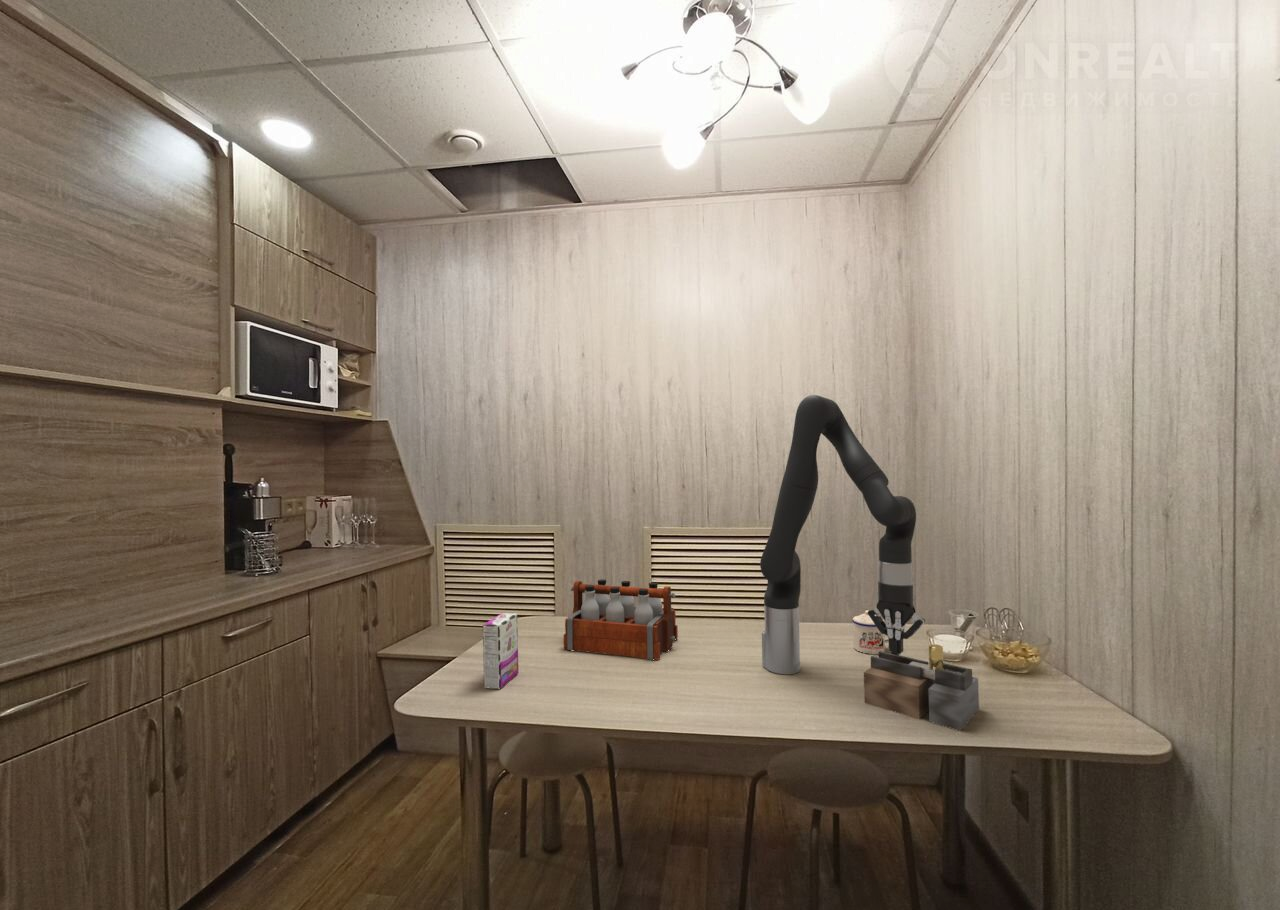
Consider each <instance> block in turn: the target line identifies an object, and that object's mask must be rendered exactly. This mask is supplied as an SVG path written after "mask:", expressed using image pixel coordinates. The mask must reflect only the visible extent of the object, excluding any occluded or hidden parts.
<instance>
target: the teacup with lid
mask: <svg viewBox="0 0 1280 910" xmlns="http://www.w3.org/2000/svg"><path fill="white" fill-rule="evenodd" d="M868 611H870V610H867V609H866V610H865V611H864V613H861V614H860V615H855V616H853V618H852V620H851V621H852V623H853V627H852V628H853V630H852V631H853V649H854V648H855V649H856V650H857V651H856V650H855V649H854V650H855V651H856V652H858V651H860V652H859V653H861V652H863V653H862V654H865V653H869V654H868V655H879V652H880V651H882V652H886V644H889V638H888V639H885V636H886V635H885V634H882V633H881V632H880V631H879V630H878V628H877V627H876V625H875V624H874V622H873V621H872V619H871V618H870V616H869V615H868ZM883 621H884V622H885V623H886V621H885V620H884V619H883Z"/></svg>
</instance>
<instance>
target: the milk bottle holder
mask: <svg viewBox="0 0 1280 910" xmlns="http://www.w3.org/2000/svg"><path fill="white" fill-rule="evenodd" d="M570 591H571V592H573V608H572V609H573V610H572V613H571V614H570V615H568V616H567V618H565V621H564V631H565V633H564V634H563V650H566V649H568V650H574V651H575V650H580V651H579V652H584V651H589V652H588V653H593V652H597V653H596V654H602V653H606V654H605V655H611V654H615V655H614V656H620V655H623V656H622V657H629V656H631V658H638V657H639V658H641V659H647V658H648V659H651V660H650V661H654V660H657V661H659V660H660V659H661V655H662V654H663V653H664V652H665V651H668V650H669V649H670V648H671V647H672V646H674V645H673V643H674V641H676V640H675V639H677V638H678V637H679V635H678V634H679V632H678V631H679V630H678V624H677V623H676V618H677V617H676V609H674V608H673V607H672V599H674V598H676V595H675V593H674V592H672V588H671V586H664V587H663V588H659V587H658V582H649V583H648V587H635V586H631V581H629V580H621V586H619V585H608V584H607V579H602V578H601V579H598V580H597V584H589V583H588V584H587V583H583V581H581V580H575V581H574V582H573V586H572V587H571V589H570ZM583 594H584V595H585V597H584V601H583ZM634 597H638V603H637V605H635V604H636V603H635V599H634ZM661 599H662V600H663V601H662V600H661ZM677 640H678V639H677ZM672 648H673V647H672ZM672 648H671V649H672ZM671 649H670V650H671ZM568 650H567V651H568ZM670 650H669V651H670ZM663 651H664V652H663ZM669 651H668V652H669ZM662 652H663V653H662ZM661 653H662V654H661ZM660 654H661V655H660ZM648 659H647V660H648ZM653 659H654V660H653Z"/></svg>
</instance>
